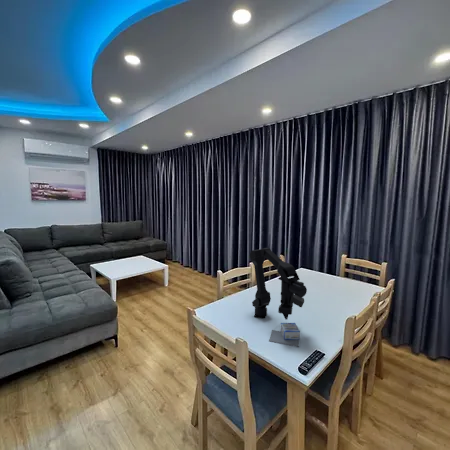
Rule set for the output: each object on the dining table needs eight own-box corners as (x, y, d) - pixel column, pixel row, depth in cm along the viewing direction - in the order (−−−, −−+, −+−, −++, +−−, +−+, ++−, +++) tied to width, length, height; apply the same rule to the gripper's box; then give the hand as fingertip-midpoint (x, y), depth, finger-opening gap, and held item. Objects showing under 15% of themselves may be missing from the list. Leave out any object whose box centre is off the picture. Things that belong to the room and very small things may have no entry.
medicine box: (295, 322, 126) (300, 331, 118) (295, 330, 127) (300, 340, 118) (280, 322, 126) (284, 331, 118) (280, 330, 127) (284, 340, 118)
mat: (269, 341, 118) (269, 340, 118) (272, 330, 127) (272, 329, 127) (298, 347, 113) (298, 346, 113) (299, 335, 123) (299, 334, 123)
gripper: (303, 299, 111) (302, 331, 113) (304, 285, 129) (303, 313, 130) (278, 296, 115) (277, 327, 117) (282, 283, 132) (282, 310, 134)
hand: (286, 319), depth 124 cm, fingers closed
